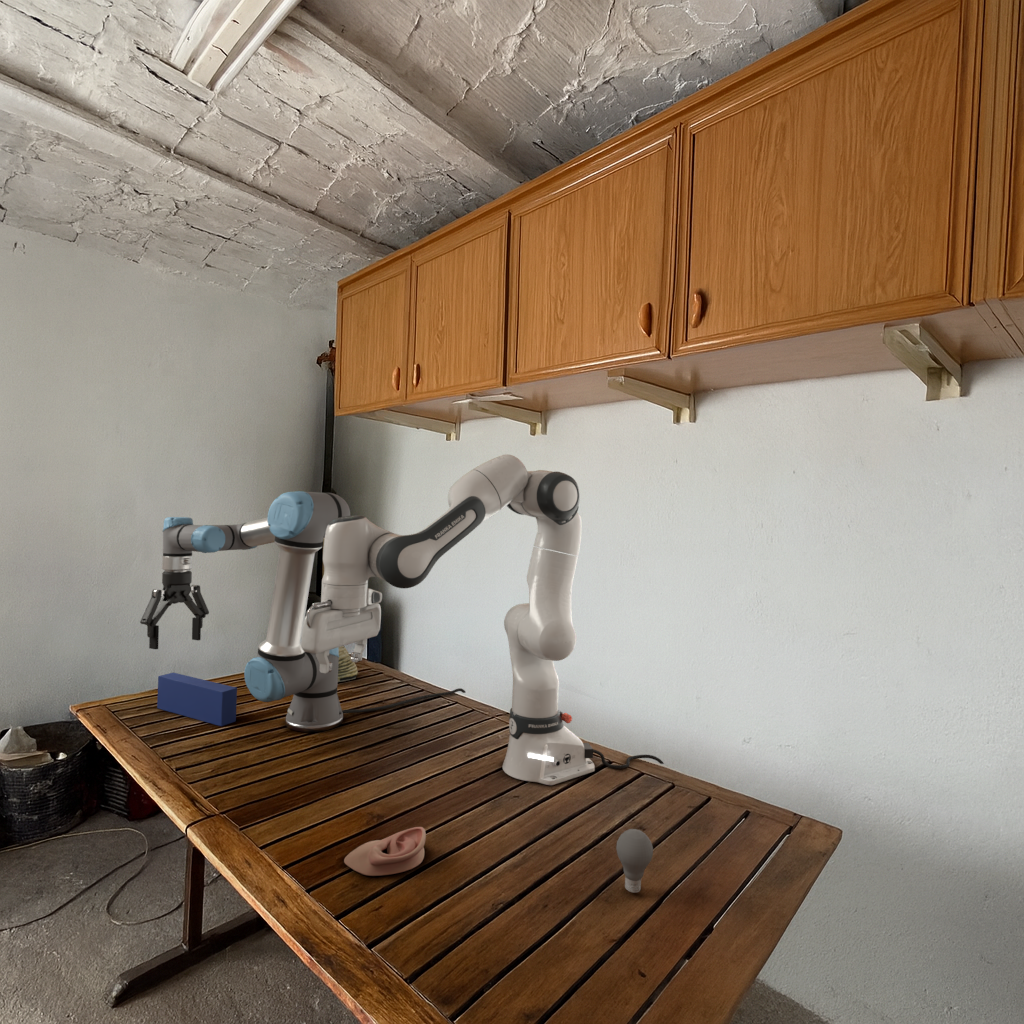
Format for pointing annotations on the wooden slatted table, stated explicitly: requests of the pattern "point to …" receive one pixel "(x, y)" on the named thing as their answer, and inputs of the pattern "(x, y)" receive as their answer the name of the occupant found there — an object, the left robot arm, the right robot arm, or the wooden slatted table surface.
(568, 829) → the wooden slatted table surface
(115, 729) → the wooden slatted table surface
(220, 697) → the bar
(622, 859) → the light bulb
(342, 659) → the fossil
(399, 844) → the anatomical model
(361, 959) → the wooden slatted table surface
